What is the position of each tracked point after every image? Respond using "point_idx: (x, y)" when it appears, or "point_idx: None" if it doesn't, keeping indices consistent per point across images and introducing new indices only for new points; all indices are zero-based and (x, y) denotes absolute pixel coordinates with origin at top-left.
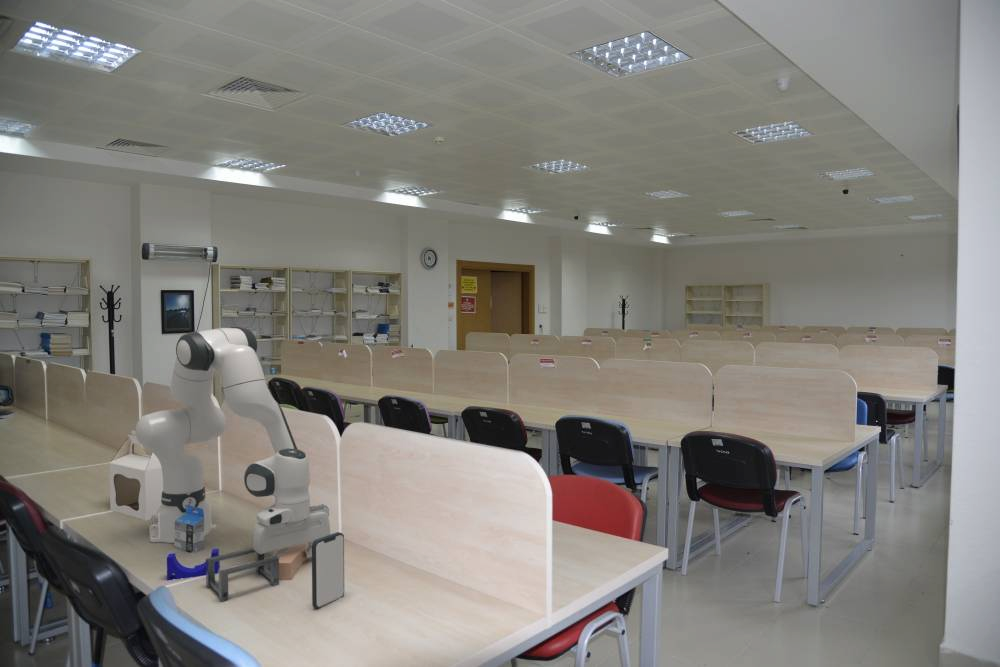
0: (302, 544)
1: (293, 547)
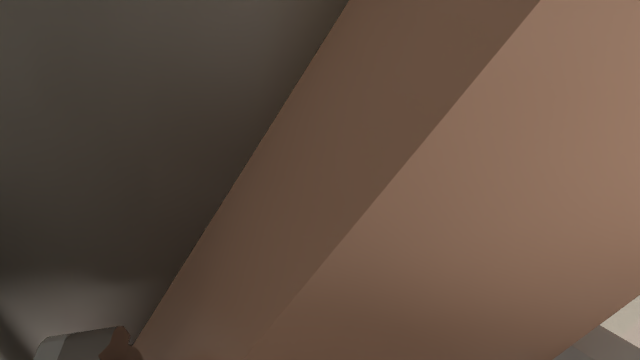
0: (582, 278)
1: (361, 347)
